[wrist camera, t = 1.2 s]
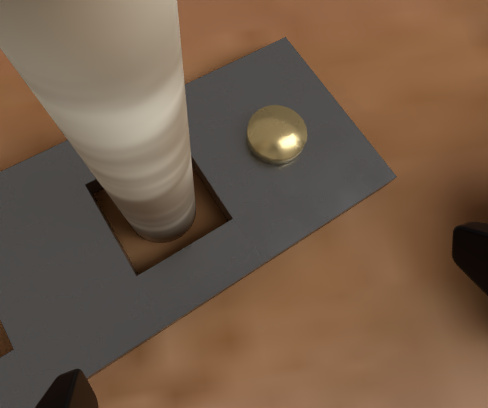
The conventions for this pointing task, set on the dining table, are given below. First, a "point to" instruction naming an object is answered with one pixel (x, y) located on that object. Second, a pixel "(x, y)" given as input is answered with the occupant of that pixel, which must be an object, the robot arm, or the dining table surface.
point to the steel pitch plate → (194, 255)
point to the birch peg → (113, 98)
